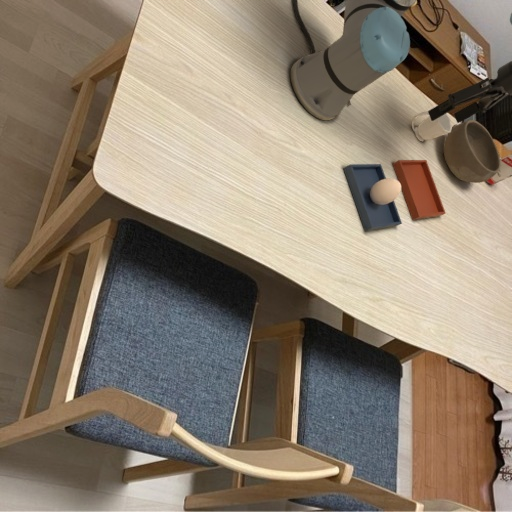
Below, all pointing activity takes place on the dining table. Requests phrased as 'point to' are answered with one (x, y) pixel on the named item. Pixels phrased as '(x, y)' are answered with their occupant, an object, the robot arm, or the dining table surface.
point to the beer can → (503, 170)
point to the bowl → (471, 152)
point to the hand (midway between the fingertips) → (443, 117)
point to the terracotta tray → (419, 189)
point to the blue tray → (360, 185)
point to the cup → (432, 127)
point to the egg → (385, 191)
